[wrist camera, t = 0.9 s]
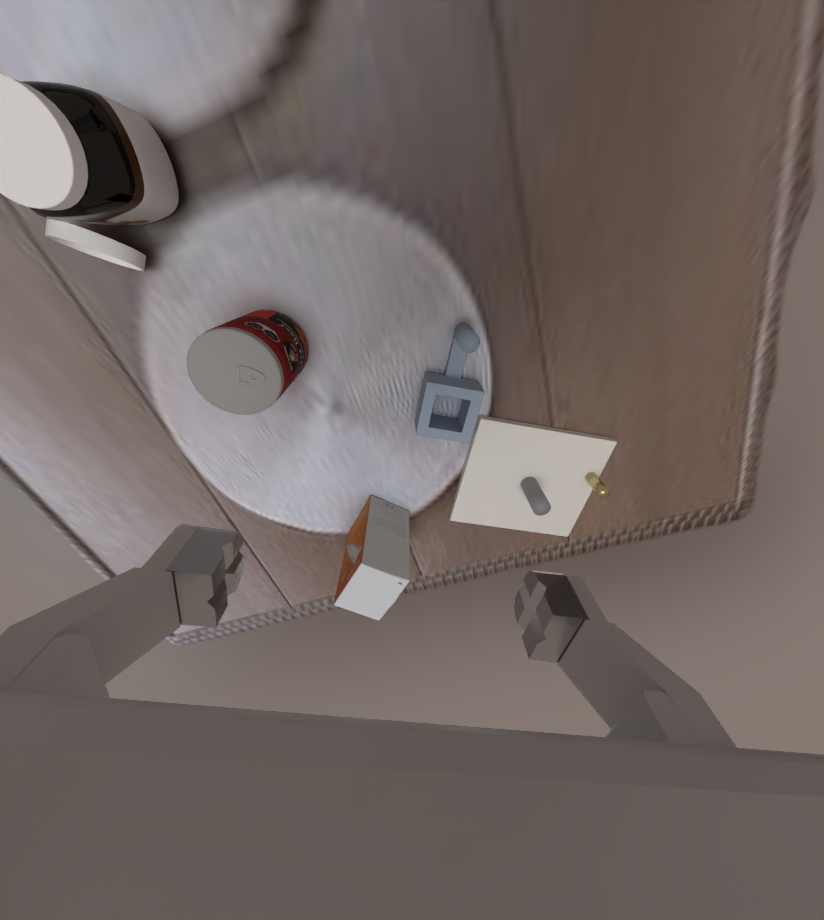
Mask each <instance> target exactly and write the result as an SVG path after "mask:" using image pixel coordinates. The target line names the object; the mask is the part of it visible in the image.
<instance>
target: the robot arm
mask: <svg viewBox="0 0 824 920" xmlns="http://www.w3.org/2000/svg"><path fill="white" fill-rule="evenodd" d="M242 545H243V537H242V534H241V533H240V532H235V531H228V530H222V529H215V528H209V527H199V526H193V525H187V524H181V525H179V526H177V527H176V528H175V529H174V531H173V532H172V533H171V534H170V535H169V536H168V538H167V539H166V540H165V541H164V542H163V543H162V545H161V546H160V547H159V548H158V549H157V550H156V552H155V553H154V554H153V555H152V556H151V557H150V559H149V560H148V561H147V562H146V563H145V564H144V566H143V567H142V568H136V567H135V568H133V569H131V570H128V571H126V572H124V573H122V574H120V575H118V576H116V577H114V578H111V579H109V580H107V581H105V582H103V583H101V584H99V585H97V586H95V587H92V588H90V589H88V590H86V591H84V592H82V593H80V594H78V595H75V596H74V597H71V598H69V599H67V600H65V601H63V602H61V603H58V604H56V605H54V606H52V607H50V608H48V609H46V610H43V611H42V612H39V613H37V614H35V615H33V616H31V617H29V618H26V619H24V620H22V621H20V622H18V623H16V624H14V625H12V626H10V627H9V628H8V629H6V630H5V631H4V632H3V633H2V634H1V635H0V920H824V755H823V754H810V753H796V752H784V751H771V750H759V749H746V748H737V747H736V746H735V744H734V743H733V741H732V740H731V738H730V737H729V735H728V734H727V732H726V731H725V729H724V728H723V727H722V725H721V724H720V722H719V721H718V719H717V718H716V716H715V715H714V713H713V712H712V710H711V709H710V707H709V706H708V705H707V703H706V702H705V700H704V699H703V697H702V696H701V694H700V693H699V692H697V691H696V690H695V689H694V688H693V687H691V686H690V685H689V684H688V683H686V682H685V681H684V680H683V679H681V678H680V677H679V676H678V675H676V674H675V673H674V672H673V671H672V670H670V669H669V668H668V667H667V666H665V665H664V664H663V663H662V662H660V661H659V660H658V659H657V658H656V657H654V656H653V655H652V654H651V653H649V652H648V651H647V650H646V649H644V648H643V647H642V646H641V645H640V644H638V643H637V642H636V641H635V640H633V639H632V638H631V637H630V636H629V635H627V634H626V633H625V632H624V631H622V630H621V629H620V628H619V627H617V626H616V625H615V624H614V623H609V622H608V621H607V619H606V618H605V616H604V614H603V613H602V611H601V609H600V607H599V606H598V604H597V602H596V601H595V599H594V597H593V595H592V593H591V592H590V590H589V588H588V586H587V585H586V583H585V581H584V580H583V578H581V577H580V576H579V575H570V574H559V573H550V572H543V571H535V570H530V571H528V572H527V573H526V575H525V577H524V582H525V585H526V586H524V587H523V588H521V589H519V590H518V593H517V595H516V598H515V605H514V610H515V617H516V620H517V623H518V624H519V625H520V626H521V627H522V628H523V629H524V630H525V632H524V634H523V636H522V639H523V642H524V645H525V648H526V651H527V654H528V658H529V659H533V660H540V661H547V662H555V663H558V665H559V667H560V668H561V669H562V670H563V671H564V673H565V674H566V675H567V676H568V678H569V679H570V680H571V681H572V682H573V684H574V685H575V686H576V687H577V689H578V690H579V691H580V692H581V693H582V695H583V696H584V697H585V698H586V699H587V700H588V702H589V703H590V704H591V706H592V707H593V708H594V709H595V710H596V712H597V713H598V714H599V715H600V716H601V717H602V719H603V720H604V721H605V723H606V724H607V725H608V726H609V727H610V728H611V731H610V732H609V733H608V734H607V736H606V737H594V736H582V735H569V734H557V733H543V732H531V731H518V730H505V729H493V728H480V727H467V726H455V725H441V724H429V723H415V722H404V721H391V720H378V719H366V718H351V717H340V716H328V715H315V714H302V713H290V712H277V711H263V710H252V709H238V708H226V707H214V706H201V705H189V704H176V703H163V702H151V701H138V700H125V699H112V698H110V697H109V694H108V691H107V688H106V686H105V684H106V683H107V682H109V681H110V680H111V679H113V678H114V677H115V676H116V675H118V674H119V673H120V672H122V671H123V670H124V669H126V668H127V667H128V666H129V665H131V664H132V663H133V662H135V661H136V660H137V659H139V658H140V657H141V656H142V655H144V654H145V653H146V652H148V651H149V650H150V649H151V648H153V647H154V646H156V645H157V644H158V643H159V642H161V641H162V640H163V639H165V638H166V637H167V636H169V635H170V634H171V633H173V632H174V631H175V630H176V629H178V628H179V627H180V625H194V626H207V627H217V625H218V623H219V621H220V619H221V617H222V615H223V613H224V611H225V609H226V607H227V606H228V602H227V596H228V595H230V594H231V593H233V592H234V591H235V590H236V588H237V586H238V584H239V581H240V578H241V574H242V571H243V563H244V562H243V555H242V554H241V553H240V552H239V550H240V548H241V546H242Z"/></svg>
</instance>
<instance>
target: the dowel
mask: <svg viewBox="0 0 824 920" xmlns="http://www.w3.org/2000/svg"><path fill="white" fill-rule="evenodd" d="M585 480H586V481H587V482H588V483H589V485H590V486H591V487H592V488H593V490H594V491H595V492H596V494H597V495H598V496H599V497H600V498H607V497H608V496H609V495H610V491H609V490H608V488H607V487H606V486H605V485H604V484H603V483H602V481H601V480H600V479H599V478H598V477H597V475H596V474H595V473H593V472H589V473H587V474H586V476H585Z"/></svg>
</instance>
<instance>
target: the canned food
mask: <svg viewBox="0 0 824 920" xmlns="http://www.w3.org/2000/svg"><path fill="white" fill-rule="evenodd" d="M307 357H308V347H307V343H306V340H305V337H304V335H303V333H302V331H301V330H300V329H299V327H298V326H297V325H296V324H295V323H294V322H293V321H292V320H290V319H289V318H287V317H286V316H284V315H281V314H279V313H277V312H273V311H265V310H261V311H255V312H252V313H249V314H247V315H244V316H242V317H239V318H237V319H234V320H232V321H229V322H227V323H225V324H222V325H220V326H217V327H215V328H212V329H210V330H208V331H206V332H205V333H203V334H202V335H200V336H199V337H198V338H196V340H195V341H194V342H193V343H192V345H191V347H190V349H189V351H188V355H187V369H188V373H189V377H190V379H191V381H192V383H193V385H194V386H195V388H196V389H197V391H198V392H199V393H200V394H201V395H202V396H203V397H204V398H205V399H206V400H207V401H209V402H210V403H211V404H212V405H214V406H216V407H218V408H220V409H222V410H224V411H227V412H230V413H234V414H242V415H249V414H255V413H259V412H262V411H264V410H265V409H267V408H269V407H270V406H271V405H272V404H274V403H275V402H276V401H277V400H278V398H279V397H280V396H281V395H282V394H283V393H284V391H285V390H286V389H287V388H288V387H289V385H290V384H291V383H292V382H293V381H294V379H295V378H296V377H297V376H298V374H299V373H300V372H301V371H302V369H303V368H304V366H305V364H306V361H307Z"/></svg>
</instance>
